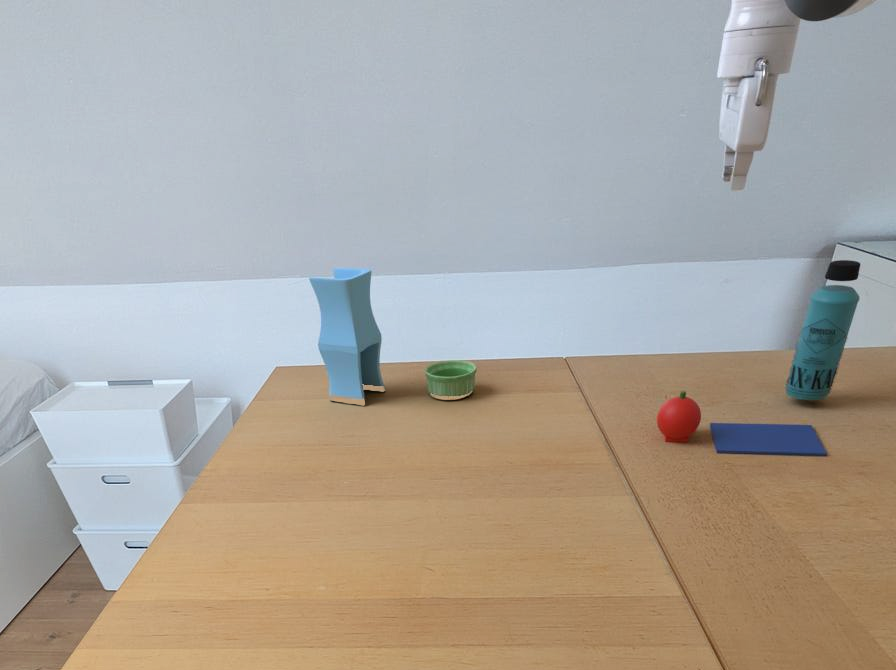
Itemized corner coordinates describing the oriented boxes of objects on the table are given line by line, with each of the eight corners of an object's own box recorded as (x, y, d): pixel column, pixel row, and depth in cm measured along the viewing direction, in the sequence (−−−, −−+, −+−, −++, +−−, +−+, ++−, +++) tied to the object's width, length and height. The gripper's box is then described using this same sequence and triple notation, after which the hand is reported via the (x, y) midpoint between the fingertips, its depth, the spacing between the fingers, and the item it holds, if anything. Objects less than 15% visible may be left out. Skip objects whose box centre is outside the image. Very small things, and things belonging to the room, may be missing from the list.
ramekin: (468, 382, 127) (468, 357, 125) (483, 398, 120) (482, 372, 118) (421, 388, 126) (419, 364, 124) (432, 405, 119) (431, 379, 117)
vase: (350, 386, 130) (335, 267, 117) (386, 391, 126) (375, 269, 114) (326, 401, 124) (308, 278, 112) (363, 406, 121) (349, 280, 109)
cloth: (810, 427, 102) (811, 424, 102) (825, 456, 95) (826, 453, 95) (709, 425, 105) (710, 422, 105) (716, 453, 98) (717, 450, 98)
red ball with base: (695, 430, 104) (703, 384, 100) (698, 447, 100) (707, 400, 96) (653, 429, 106) (660, 384, 101) (654, 445, 101) (662, 399, 97)
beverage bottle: (779, 394, 113) (815, 256, 101) (825, 396, 111) (867, 256, 99) (783, 409, 108) (821, 266, 96) (830, 411, 107) (876, 266, 94)
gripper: (797, 56, 82) (767, 194, 90) (769, 57, 97) (746, 175, 106) (739, 60, 83) (716, 196, 92) (720, 61, 98) (702, 177, 107)
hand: (732, 185), depth 99 cm, fingers open, 8 cm apart
